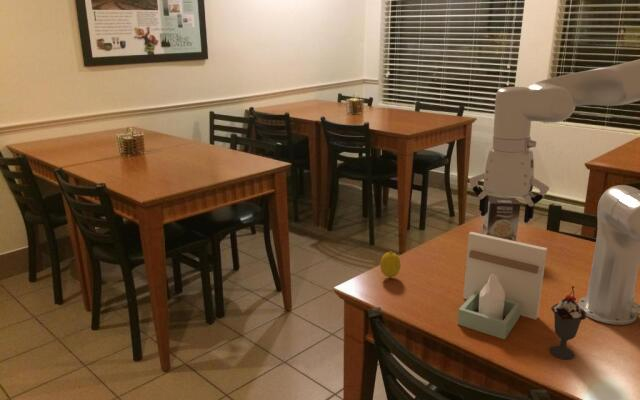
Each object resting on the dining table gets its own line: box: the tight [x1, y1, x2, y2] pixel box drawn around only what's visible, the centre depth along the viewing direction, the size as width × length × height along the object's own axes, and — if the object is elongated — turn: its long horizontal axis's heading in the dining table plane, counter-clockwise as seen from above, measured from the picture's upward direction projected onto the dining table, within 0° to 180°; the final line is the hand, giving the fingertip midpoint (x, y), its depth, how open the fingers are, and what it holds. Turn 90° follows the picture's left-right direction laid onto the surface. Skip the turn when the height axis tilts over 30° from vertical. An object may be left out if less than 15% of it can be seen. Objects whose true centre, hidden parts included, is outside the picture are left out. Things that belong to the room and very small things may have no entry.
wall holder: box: [457, 231, 548, 340], centre depth 122 cm, size 18×14×18 cm
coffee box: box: [481, 196, 521, 242], centre depth 161 cm, size 9×6×16 cm
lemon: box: [379, 250, 401, 279], centre depth 144 cm, size 6×6×8 cm
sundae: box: [549, 285, 587, 361], centre depth 109 cm, size 7×7×15 cm
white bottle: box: [478, 274, 505, 320], centre depth 122 cm, size 6×12×6 cm
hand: (505, 217), depth 120 cm, fingers open, 9 cm apart
